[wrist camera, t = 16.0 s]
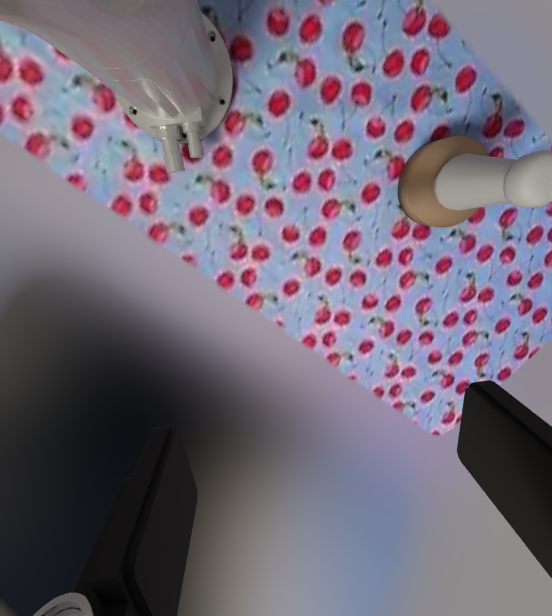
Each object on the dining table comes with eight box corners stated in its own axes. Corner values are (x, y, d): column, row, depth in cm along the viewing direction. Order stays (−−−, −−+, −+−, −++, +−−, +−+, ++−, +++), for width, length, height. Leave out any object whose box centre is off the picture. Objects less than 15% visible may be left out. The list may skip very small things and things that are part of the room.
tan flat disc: (469, 220, 40) (485, 222, 38) (396, 229, 40) (407, 232, 37) (479, 135, 37) (498, 130, 34) (398, 144, 36) (411, 141, 34)
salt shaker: (457, 144, 34) (571, 117, 22) (482, 184, 36) (599, 180, 24) (415, 182, 35) (501, 177, 23) (441, 219, 37) (533, 232, 25)
